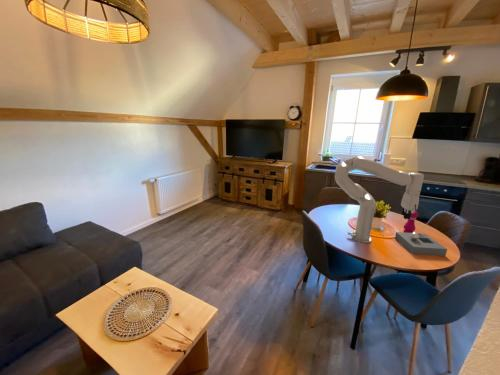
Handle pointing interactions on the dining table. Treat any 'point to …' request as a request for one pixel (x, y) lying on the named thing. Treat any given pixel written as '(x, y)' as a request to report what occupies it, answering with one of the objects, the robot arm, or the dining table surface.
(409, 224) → the pepper mill
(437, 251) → the board
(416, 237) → the ball
